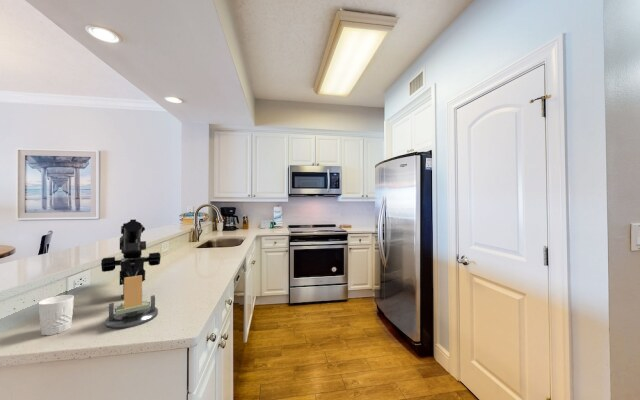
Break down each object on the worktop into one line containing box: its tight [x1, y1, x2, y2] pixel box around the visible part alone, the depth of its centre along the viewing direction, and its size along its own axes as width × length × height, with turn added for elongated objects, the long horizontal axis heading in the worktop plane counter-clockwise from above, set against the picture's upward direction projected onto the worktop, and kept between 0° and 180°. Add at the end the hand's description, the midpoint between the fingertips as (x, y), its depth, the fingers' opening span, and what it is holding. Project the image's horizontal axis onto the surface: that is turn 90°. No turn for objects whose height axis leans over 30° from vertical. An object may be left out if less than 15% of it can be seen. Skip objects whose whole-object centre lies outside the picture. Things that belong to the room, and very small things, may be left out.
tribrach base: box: [104, 295, 159, 330], centre depth 89 cm, size 15×15×6 cm
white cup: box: [38, 294, 75, 336], centre depth 80 cm, size 8×8×10 cm
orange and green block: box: [114, 275, 151, 315], centre depth 90 cm, size 14×10×11 cm
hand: (132, 280), depth 95 cm, fingers closed
